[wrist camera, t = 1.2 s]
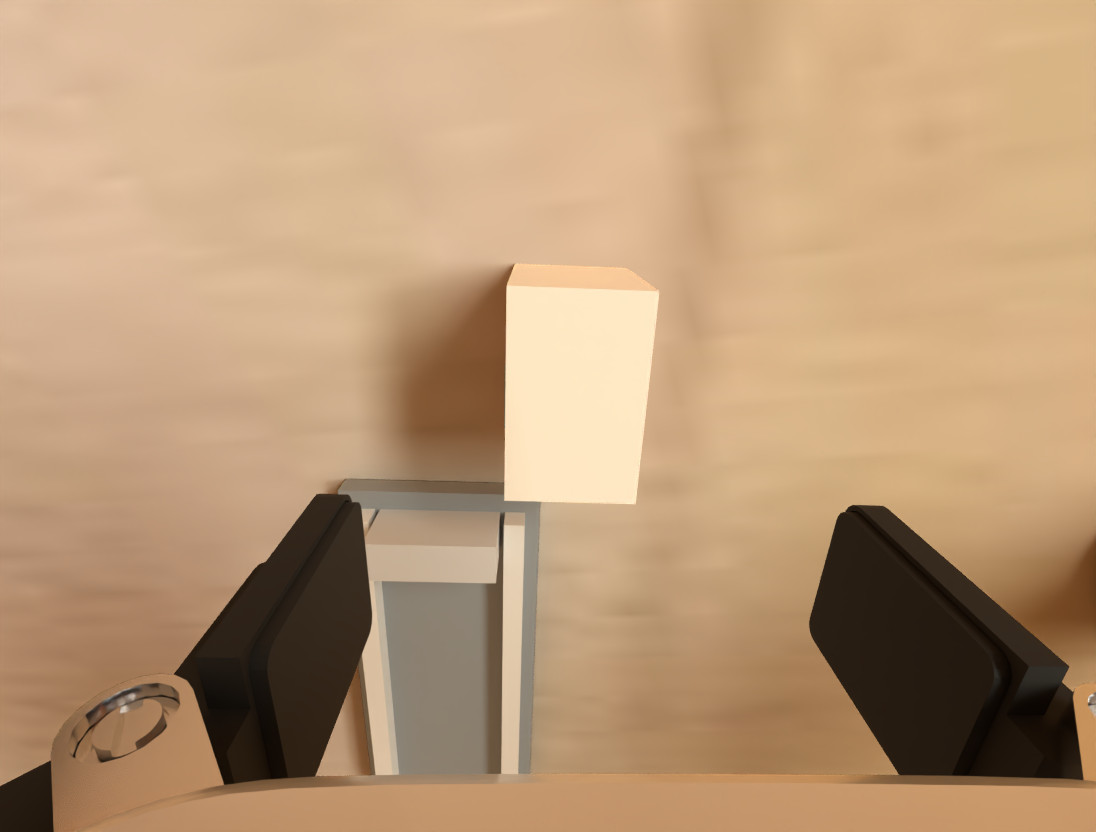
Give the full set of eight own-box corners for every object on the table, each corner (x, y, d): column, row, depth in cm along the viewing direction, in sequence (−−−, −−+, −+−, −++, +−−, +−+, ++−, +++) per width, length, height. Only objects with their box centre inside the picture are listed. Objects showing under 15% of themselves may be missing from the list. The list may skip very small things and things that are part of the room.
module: (628, 267, 24) (660, 291, 18) (613, 431, 27) (636, 504, 21) (514, 263, 24) (504, 285, 18) (511, 429, 27) (503, 500, 20)
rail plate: (540, 483, 28) (541, 529, 24) (529, 775, 36) (528, 845, 32) (345, 478, 28) (314, 524, 24) (378, 774, 36) (358, 844, 32)
